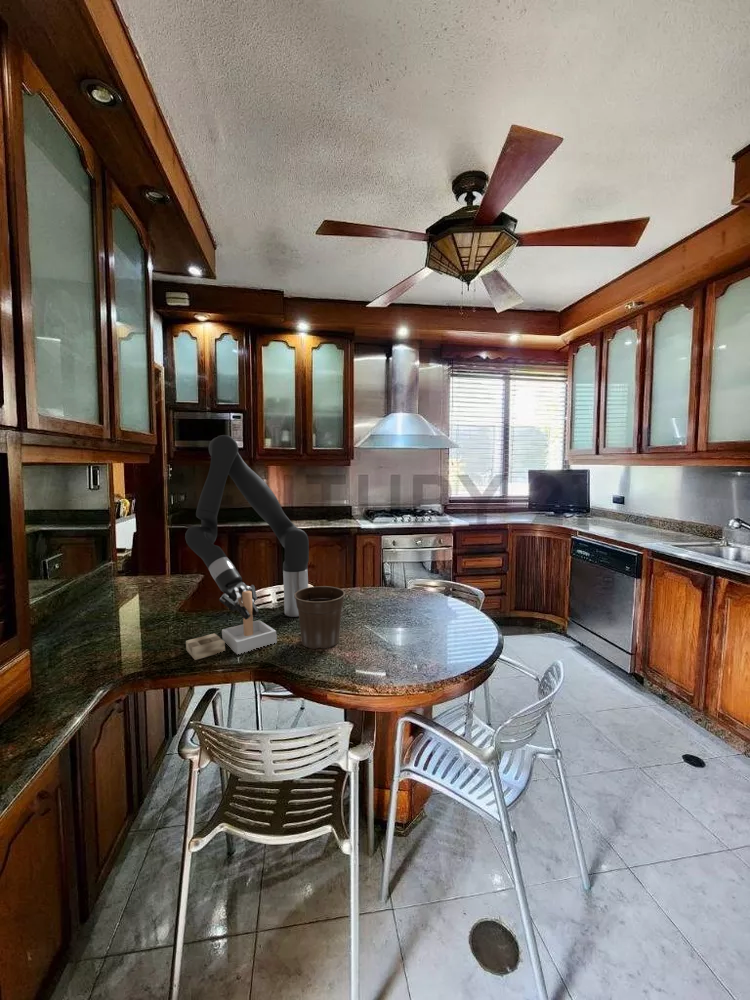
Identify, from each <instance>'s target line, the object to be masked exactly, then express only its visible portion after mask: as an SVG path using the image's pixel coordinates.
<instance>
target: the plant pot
mask: <svg viewBox="0 0 750 1000" xmlns="http://www.w3.org/2000/svg"><path fill="white" fill-rule="evenodd" d="M308 587H309V586H308ZM345 596H346V592H345V590H343V589H342V588H339V587H336V586H335V587H334V586H327V585H323V586H322V585H321V586H319V585H318V586H310V587H309V588H304V589H301V590H299V591H297V592H296V593H295V594H294V597H295V599H296V604H297V608H298V613H299V616H298V620H299V628H300V637H301V638H300V640H301V645H303V646H304V647H306V648H309V649H313V650H316V649H318V648H321V649H323V650H324V649H329V648H332V647H334V646H336V645H338V644H339V642H340V631H341V621H342V608H343V606H344V597H345Z"/></svg>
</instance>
